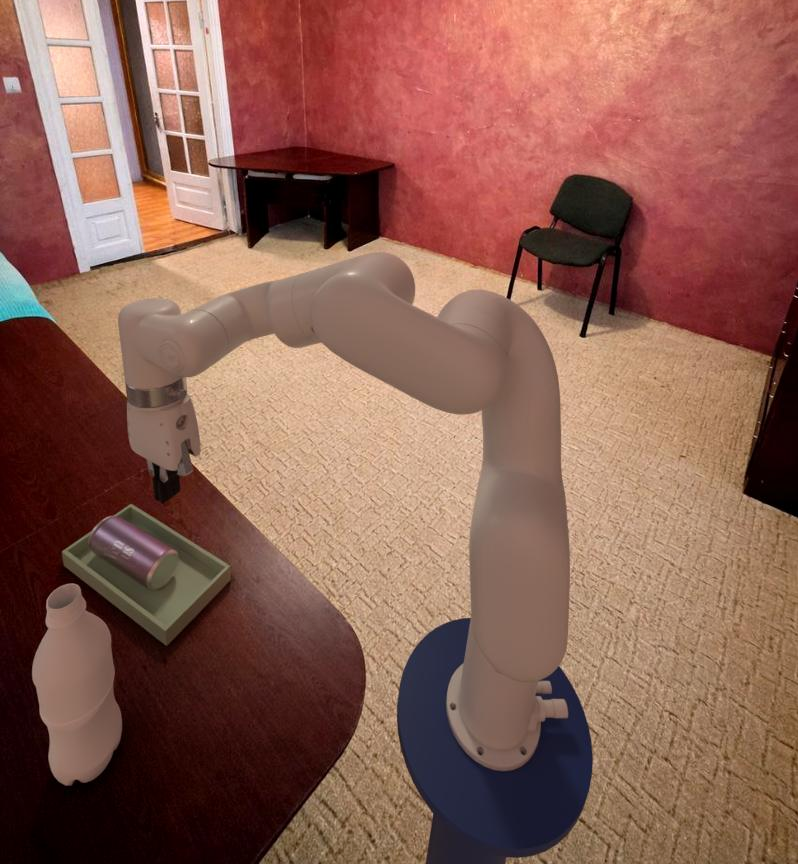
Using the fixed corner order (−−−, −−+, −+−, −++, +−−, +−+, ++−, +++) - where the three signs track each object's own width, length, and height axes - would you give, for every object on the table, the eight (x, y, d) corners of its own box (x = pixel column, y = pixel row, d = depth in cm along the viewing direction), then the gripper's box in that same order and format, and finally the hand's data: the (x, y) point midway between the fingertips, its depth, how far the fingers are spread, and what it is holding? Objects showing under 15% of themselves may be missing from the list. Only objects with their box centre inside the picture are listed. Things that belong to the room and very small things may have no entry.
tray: (231, 579, 80) (230, 565, 79) (166, 646, 69) (165, 631, 68) (132, 516, 90) (131, 503, 89) (63, 565, 80) (61, 551, 79)
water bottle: (137, 738, 59) (119, 582, 52) (79, 811, 53) (49, 644, 45) (97, 708, 62) (75, 555, 54) (38, 773, 55) (3, 610, 48)
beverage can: (186, 549, 80) (126, 513, 86) (160, 553, 75) (98, 515, 81) (170, 588, 78) (109, 549, 84) (142, 595, 73) (79, 553, 79)
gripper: (217, 390, 67) (223, 499, 72) (146, 362, 73) (156, 463, 78) (170, 417, 60) (180, 534, 65) (97, 383, 67) (111, 492, 72)
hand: (167, 495), depth 72 cm, fingers closed
